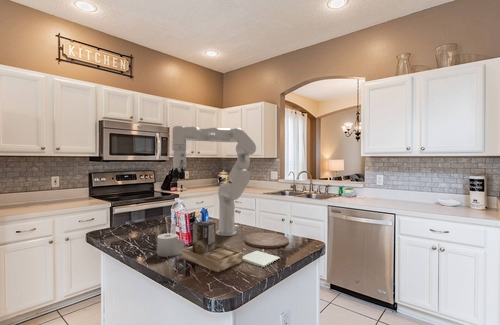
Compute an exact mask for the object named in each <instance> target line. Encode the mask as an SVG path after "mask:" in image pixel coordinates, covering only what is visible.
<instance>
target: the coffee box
mask: <svg viewBox="0 0 500 325" xmlns="http://www.w3.org/2000/svg"><path fill="white" fill-rule="evenodd" d="M216 225H217V224H216V222H212V221H211V222H209V221H204V220H203V221H201V220H200V221H197V222H195V223H194V222H193V223H192V246H193V253H196V254H198V255H202V254H205V253H208V252H211V251H214V250H215V244H216Z"/></svg>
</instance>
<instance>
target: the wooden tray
mask: <svg viewBox="0 0 500 325" xmlns="http://www.w3.org/2000/svg"><path fill="white" fill-rule="evenodd" d="M224 249H225V250H228V251H231V252H234V255H233V256H231V257H228V258H226V259H223V260H221V261H215V260H212V259H210V254H213V253H216V252H218V251H221V250H224ZM243 256H244V253H243V252H242V251H239V250H236V249H233V248H229V247H225V246H222V245H219V244H216V243H215V250H214V251H211V252H208V253H205V254H202V255H198V254H196V253H193V245H192V246H189V247H186V248H185V247H184V249H182V254H181V258H182V259H184V260H186V261H189V262H191V263H194V264H196V265H199V266H202V267H204V268H206V269H209V270H211V271H214V272H217V273H219V272H222V271H224V270H226V269H228V268H230V267H234V266H235V265H237V264H240V263H242V262H244V261H243Z"/></svg>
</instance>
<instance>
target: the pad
mask: <svg viewBox="0 0 500 325" xmlns="http://www.w3.org/2000/svg"><path fill="white" fill-rule="evenodd" d="M278 259H280V260H281V257H280V256H277V255H273V254H270V253H266V252H264V251H259V250H255V251H252V252H250V253H247V254H245V255H244V254H243V261H242V262H245V263H248V264H251V265H254V266H258V267H260V266H261V267H260V268H263V267H264V268H266V267H268V266H270V265H272V264H274V263H275V262H274V261H276V260H278ZM278 261H279V260H278ZM273 262H274V263H273ZM276 262H277V261H276ZM271 263H272V264H271ZM269 264H270V265H269ZM267 265H268V266H267ZM265 266H266V267H265Z"/></svg>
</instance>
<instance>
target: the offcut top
mask: <svg viewBox="0 0 500 325" xmlns="http://www.w3.org/2000/svg"><path fill="white" fill-rule="evenodd" d="M233 255H234V252H231V251H228V250H225V249H224V250H221V251H218V252H216V253H213V254H210V259H212V260H215V261H221V260H223V259H226V258H228V257H231V256H233Z"/></svg>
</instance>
